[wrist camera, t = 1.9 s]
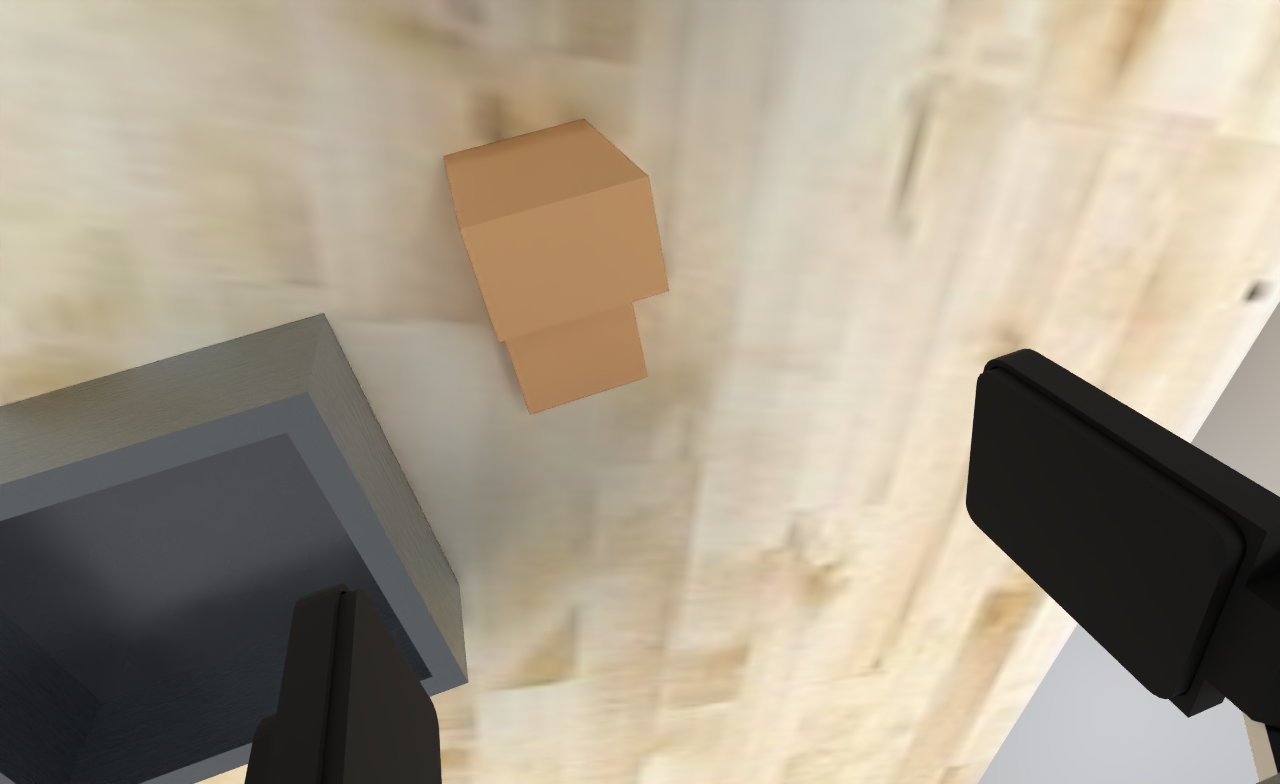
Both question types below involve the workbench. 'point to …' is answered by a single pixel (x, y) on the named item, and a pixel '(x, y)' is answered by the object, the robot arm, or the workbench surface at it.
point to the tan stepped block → (560, 256)
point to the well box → (196, 555)
